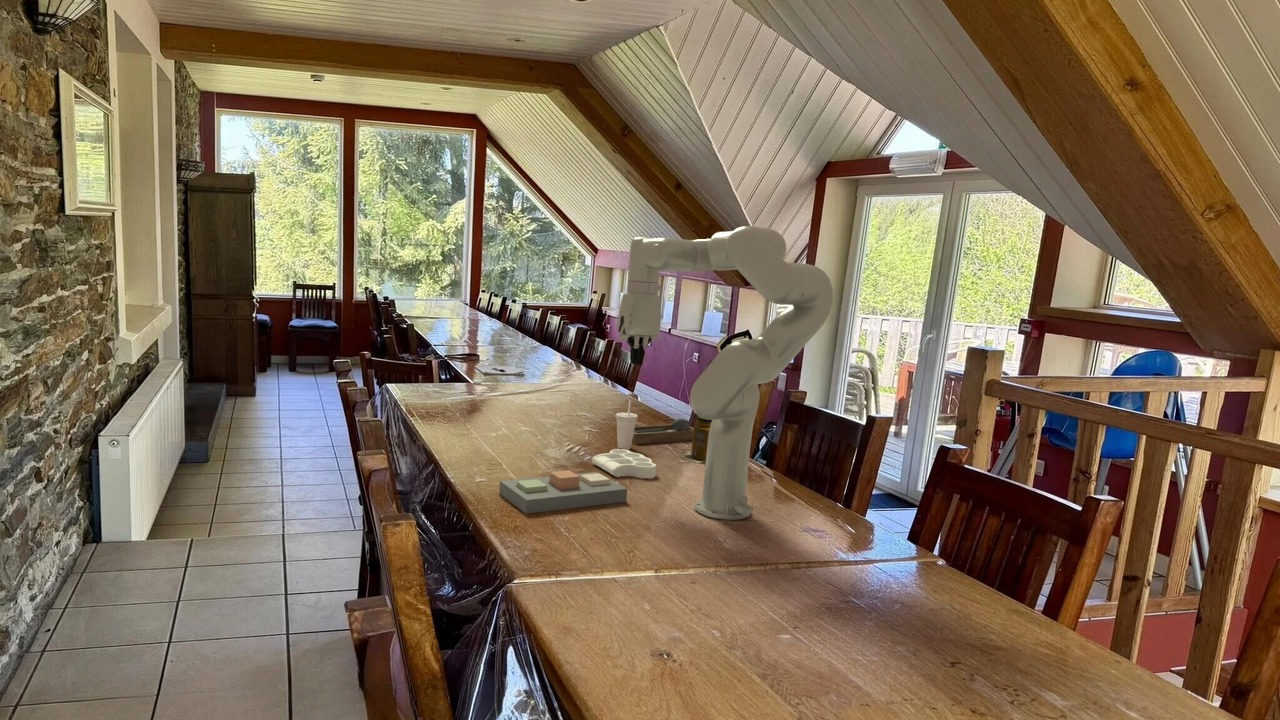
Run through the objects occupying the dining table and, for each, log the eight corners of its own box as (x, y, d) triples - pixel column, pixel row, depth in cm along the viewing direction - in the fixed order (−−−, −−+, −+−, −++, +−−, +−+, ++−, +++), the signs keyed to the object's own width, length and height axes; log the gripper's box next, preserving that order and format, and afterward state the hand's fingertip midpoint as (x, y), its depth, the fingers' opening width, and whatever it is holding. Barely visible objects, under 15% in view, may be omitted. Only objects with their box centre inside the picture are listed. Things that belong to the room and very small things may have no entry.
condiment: (718, 460, 227) (722, 418, 225) (698, 463, 221) (702, 421, 219) (699, 453, 232) (703, 413, 230) (679, 457, 226) (683, 415, 224)
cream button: (608, 496, 185) (609, 479, 185) (589, 498, 183) (591, 481, 182) (597, 489, 189) (599, 473, 189) (579, 491, 187) (580, 475, 186)
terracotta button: (578, 493, 181) (579, 476, 180) (558, 495, 178) (560, 478, 177) (568, 487, 185) (569, 470, 184) (548, 489, 182) (549, 472, 182)
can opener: (681, 435, 253) (682, 416, 252) (690, 439, 249) (692, 419, 248) (630, 439, 242) (632, 419, 242) (640, 443, 238) (642, 423, 237)
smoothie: (632, 451, 228) (636, 403, 226) (610, 448, 229) (614, 400, 227) (637, 446, 234) (641, 399, 232) (615, 443, 235) (619, 396, 233)
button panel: (626, 501, 183) (627, 488, 182) (525, 513, 169) (526, 500, 169) (595, 483, 194) (596, 471, 194) (499, 493, 181) (500, 480, 180)
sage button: (546, 503, 177) (547, 485, 176) (525, 505, 174) (526, 487, 173) (536, 496, 181) (537, 479, 180) (515, 498, 178) (516, 481, 177)
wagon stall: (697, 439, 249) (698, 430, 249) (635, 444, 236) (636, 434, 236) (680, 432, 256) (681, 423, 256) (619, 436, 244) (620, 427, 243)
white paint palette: (585, 463, 213) (633, 459, 221) (618, 482, 198) (668, 478, 206) (586, 450, 213) (634, 447, 221) (619, 469, 198) (669, 465, 205)
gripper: (659, 288, 201) (653, 361, 203) (608, 286, 193) (602, 361, 195) (676, 291, 195) (670, 366, 197) (624, 289, 187) (618, 367, 189)
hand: (636, 363), depth 196 cm, fingers closed
